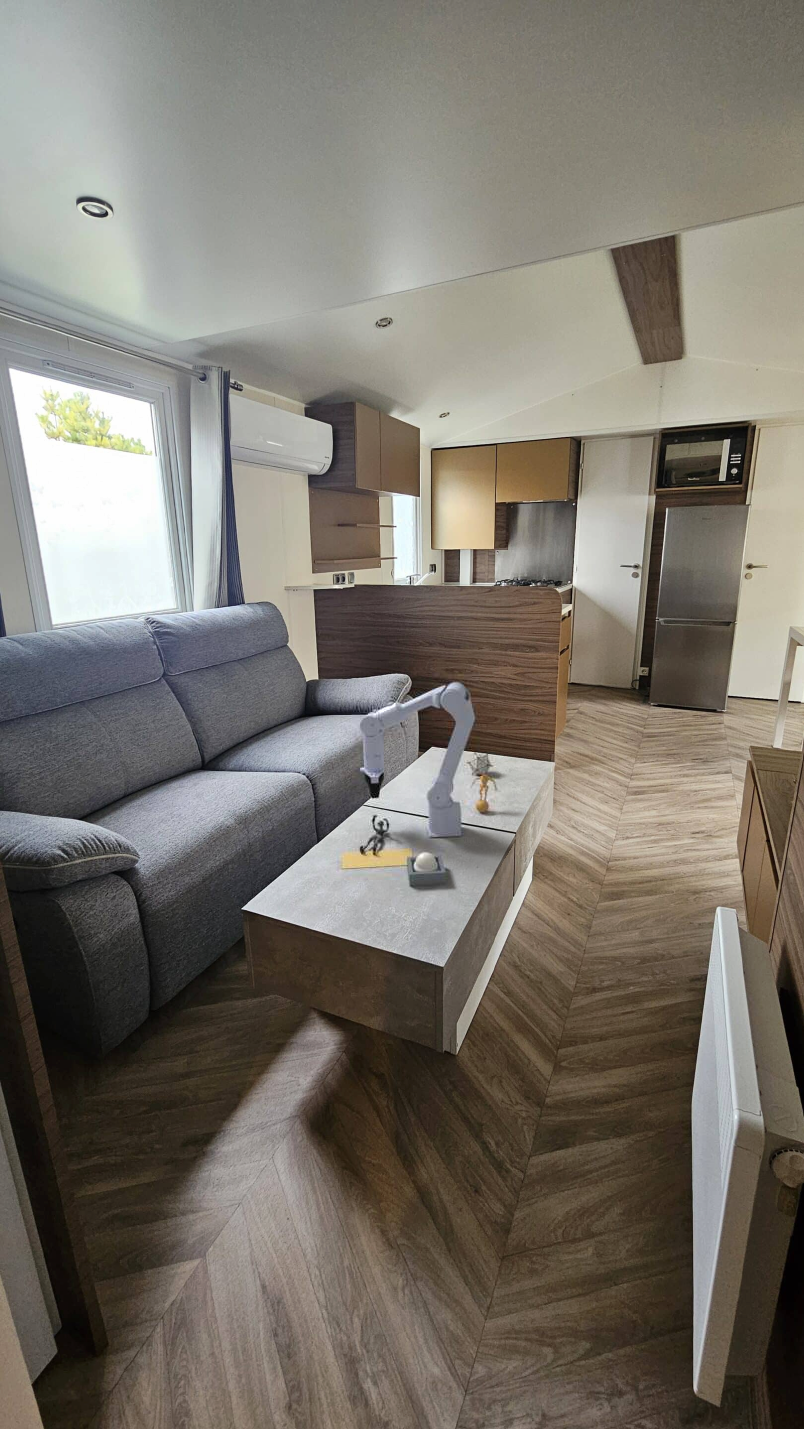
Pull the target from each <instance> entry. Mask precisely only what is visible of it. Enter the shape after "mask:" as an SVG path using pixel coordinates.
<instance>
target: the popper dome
mask: <svg viewBox="0 0 804 1429" xmlns="http://www.w3.org/2000/svg"><path fill="white" fill-rule="evenodd" d="M417 856H418V857H417V858H416V862H415V863H414V872H427V871H438V864H437V862H436V860H435V858H434V855H433V854H432V853H430V852H427V851H426V852H424V851H423V852H421V853H419V854H418V855H417Z"/></svg>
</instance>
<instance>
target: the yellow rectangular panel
mask: <svg viewBox="0 0 804 1429" xmlns="http://www.w3.org/2000/svg"><path fill="white" fill-rule="evenodd" d="M407 857H414V854H413V848H399V849H396V848H395V849H384V850H383V849H382V850H380V849H379V850H376V854H375V855H373V850H365V851H364V853H363V854H361V852H360V851H345V852H342V860H341V870H349V869H364V868H367V869H368V868H380V867H382V868H383V867H384V868H385V867H400V866H401V867H402V866H407Z"/></svg>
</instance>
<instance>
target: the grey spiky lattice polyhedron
mask: <svg viewBox="0 0 804 1429" xmlns="http://www.w3.org/2000/svg"><path fill="white" fill-rule="evenodd" d="M466 763H467V764H468V765H469V767H470V768H471V771H472V773H471V776H473V775H475V774H476V775H481V776H483V774H486V775H487V772H488V771H489V770H490V768H491V767H492V768H493V767H494V765H492V764H491V762H490V759H489V753H487V754H480V753H479V754H478V753H476V752H474V755H473V757H472V758H471V760H470V761H467V762H466Z"/></svg>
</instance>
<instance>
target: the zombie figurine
mask: <svg viewBox="0 0 804 1429" xmlns="http://www.w3.org/2000/svg"><path fill="white" fill-rule="evenodd" d="M376 818H378V815H377V814H372V819H371V823H372V828H373V831H375V834H373V835H372V836H371V837H369V838H368V841H366V842H367V843H366V845H360V846H359V852H361V854H363V853H364V851H366V849H367V848H368V846H369V845H370V844H371V842H373V841H375V842H374V846H372V851H373V855H375V854H376V851H378V850H377V849H378V847H379V846H378V845H379V841H382V840H383V835H384V834H385V833H388V830H389V828H390V822H389V821H388V819H387V818H382V819H383V820H379V821H378V822H377V824H375V822H376ZM385 822H386V829H383V827H384V826H385V824H384V823H385ZM376 826H377V828H376Z"/></svg>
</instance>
